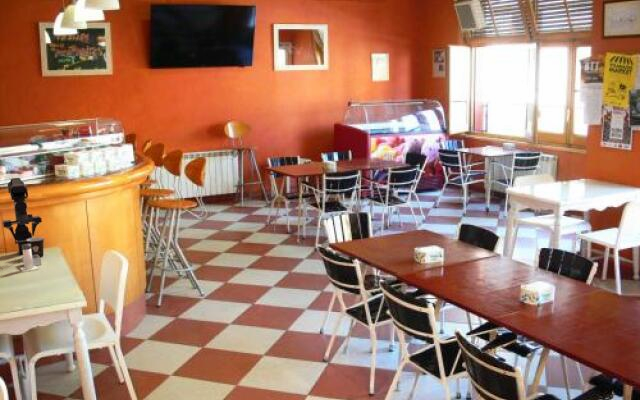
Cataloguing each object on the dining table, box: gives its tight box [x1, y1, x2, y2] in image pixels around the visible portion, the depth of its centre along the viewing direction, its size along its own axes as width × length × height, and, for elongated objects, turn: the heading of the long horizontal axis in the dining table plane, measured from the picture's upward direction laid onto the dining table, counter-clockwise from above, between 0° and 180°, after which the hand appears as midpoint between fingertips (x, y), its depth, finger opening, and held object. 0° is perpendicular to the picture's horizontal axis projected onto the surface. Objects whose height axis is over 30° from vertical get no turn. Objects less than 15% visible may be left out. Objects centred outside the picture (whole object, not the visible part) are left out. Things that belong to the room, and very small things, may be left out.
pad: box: [19, 266, 39, 273], centre depth 340 cm, size 8×8×1 cm
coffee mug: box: [20, 236, 45, 258], centre depth 362 cm, size 12×9×10 cm
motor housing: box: [21, 254, 42, 267], centre depth 348 cm, size 8×8×4 cm
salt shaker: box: [22, 244, 33, 269], centre depth 339 cm, size 4×4×12 cm
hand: (23, 237), depth 353 cm, fingers open, 9 cm apart
